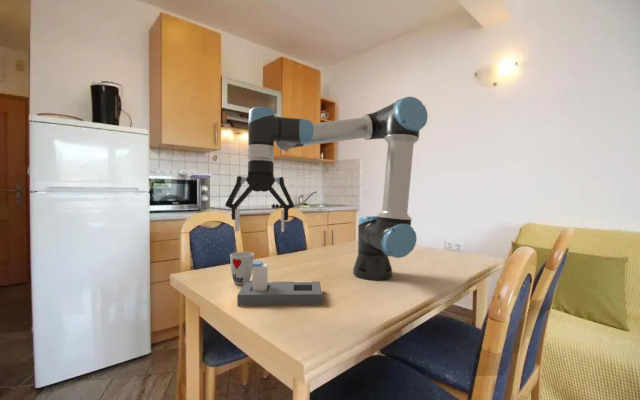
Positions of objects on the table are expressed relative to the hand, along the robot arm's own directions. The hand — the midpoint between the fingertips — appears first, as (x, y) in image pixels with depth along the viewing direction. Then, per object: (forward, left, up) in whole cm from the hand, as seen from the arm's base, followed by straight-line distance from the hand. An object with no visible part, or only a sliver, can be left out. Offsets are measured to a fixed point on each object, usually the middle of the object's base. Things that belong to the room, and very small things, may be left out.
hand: (260, 231), depth 89 cm
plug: (0, 0, -20) cm, 20 cm away
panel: (-7, 0, -20) cm, 21 cm away
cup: (+8, -15, -21) cm, 27 cm away
